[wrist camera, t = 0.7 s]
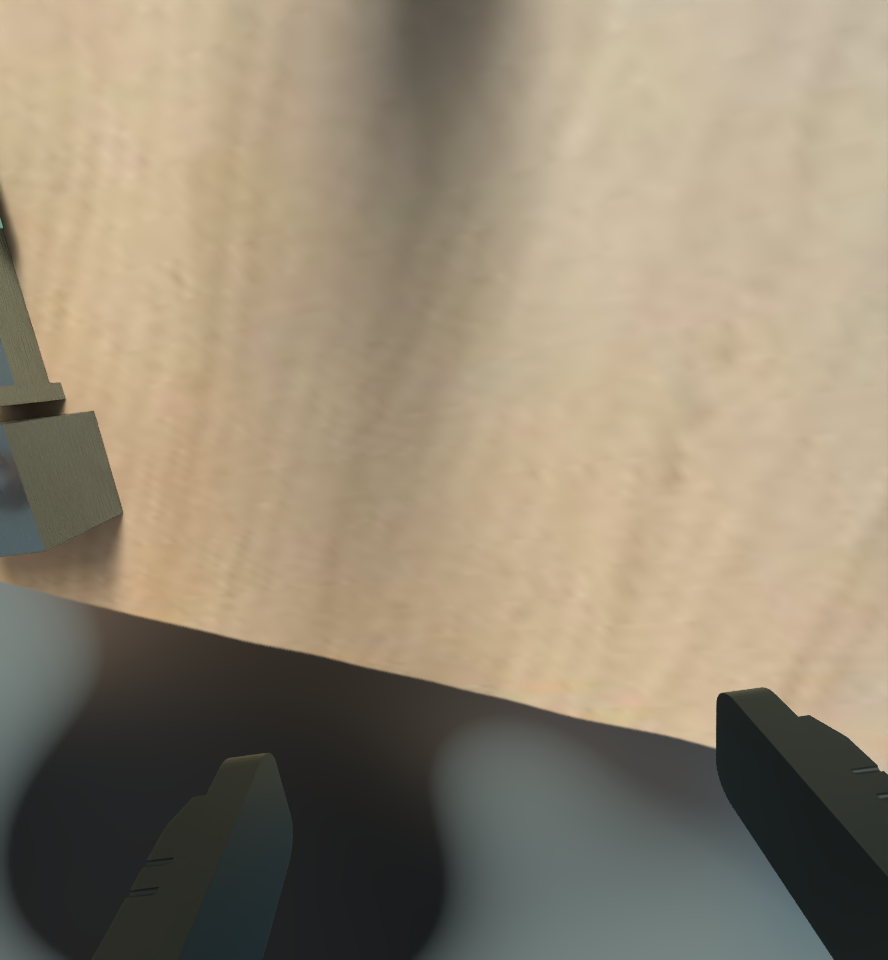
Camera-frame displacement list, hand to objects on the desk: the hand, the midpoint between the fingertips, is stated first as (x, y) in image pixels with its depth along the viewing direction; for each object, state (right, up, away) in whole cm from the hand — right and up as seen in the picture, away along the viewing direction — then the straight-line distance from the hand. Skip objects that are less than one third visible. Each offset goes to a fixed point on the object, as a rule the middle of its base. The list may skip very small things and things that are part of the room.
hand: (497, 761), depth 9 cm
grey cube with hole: (-31, +6, +29) cm, 42 cm away
